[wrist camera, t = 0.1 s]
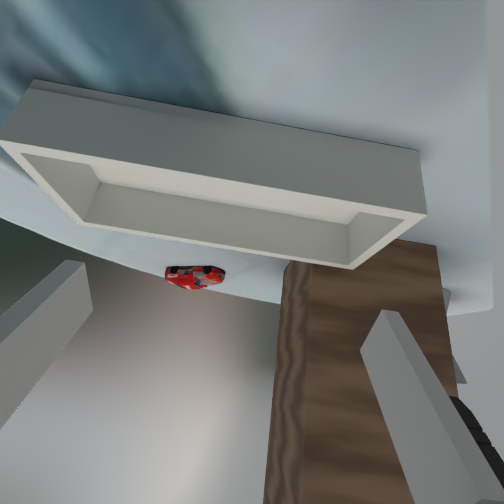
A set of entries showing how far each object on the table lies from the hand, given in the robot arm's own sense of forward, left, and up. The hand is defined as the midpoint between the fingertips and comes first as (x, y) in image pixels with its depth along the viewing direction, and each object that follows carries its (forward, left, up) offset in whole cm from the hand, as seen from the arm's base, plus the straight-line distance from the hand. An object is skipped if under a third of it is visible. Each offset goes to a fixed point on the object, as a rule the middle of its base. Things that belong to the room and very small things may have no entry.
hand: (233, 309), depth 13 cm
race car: (+43, -8, -16) cm, 47 cm away
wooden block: (+26, +17, -15) cm, 34 cm away
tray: (+9, -2, -15) cm, 18 cm away
